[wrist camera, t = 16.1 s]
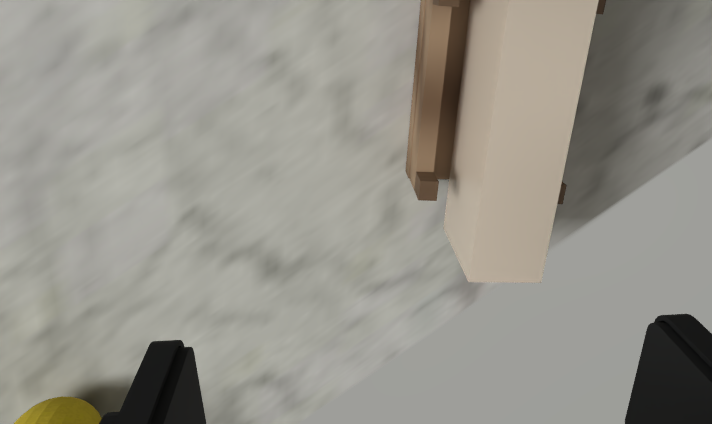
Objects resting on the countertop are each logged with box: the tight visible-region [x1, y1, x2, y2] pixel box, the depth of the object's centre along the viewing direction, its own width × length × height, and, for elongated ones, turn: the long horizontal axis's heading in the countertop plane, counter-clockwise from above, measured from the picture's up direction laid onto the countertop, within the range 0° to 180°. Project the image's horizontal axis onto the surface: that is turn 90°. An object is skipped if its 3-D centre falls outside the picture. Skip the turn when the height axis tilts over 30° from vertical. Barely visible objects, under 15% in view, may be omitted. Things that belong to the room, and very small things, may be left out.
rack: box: [406, 0, 606, 204], centre depth 28 cm, size 10×7×4 cm
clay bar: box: [444, 0, 599, 283], centre depth 26 cm, size 14×4×6 cm, turn 177°
